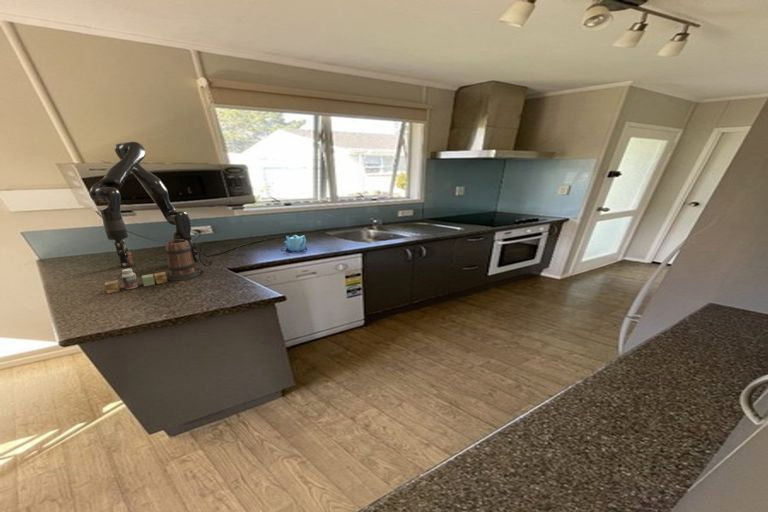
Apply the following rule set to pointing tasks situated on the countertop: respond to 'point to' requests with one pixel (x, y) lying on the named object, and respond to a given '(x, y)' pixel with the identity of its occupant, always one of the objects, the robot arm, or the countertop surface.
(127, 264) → the supplement bottle
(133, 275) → the pill bottle
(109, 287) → the birch block
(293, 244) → the teapot
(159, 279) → the maple block
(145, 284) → the sage block
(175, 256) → the tankard
